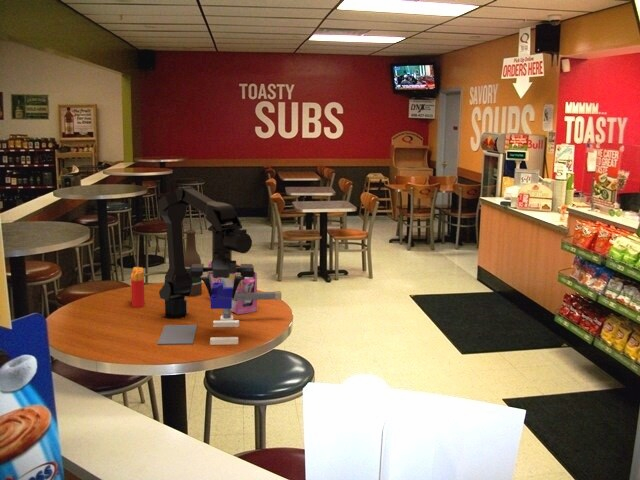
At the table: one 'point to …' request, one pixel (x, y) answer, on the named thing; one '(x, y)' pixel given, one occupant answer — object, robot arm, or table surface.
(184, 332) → the mat
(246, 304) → the gum box
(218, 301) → the cable clip
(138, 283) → the french fries
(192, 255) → the beer bottle
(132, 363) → the table surface
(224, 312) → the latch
